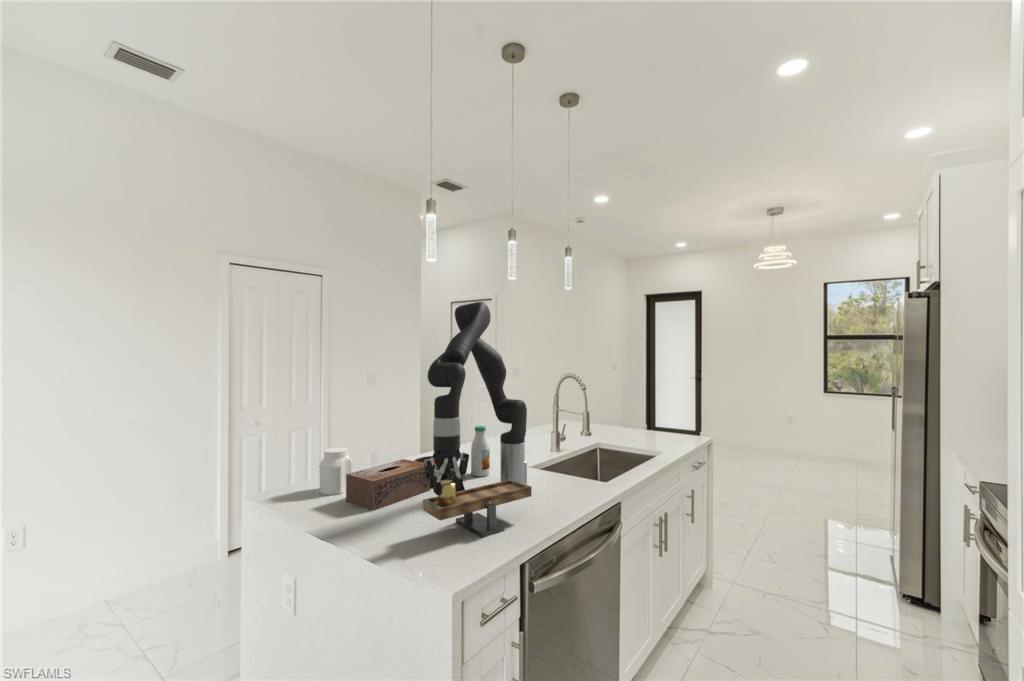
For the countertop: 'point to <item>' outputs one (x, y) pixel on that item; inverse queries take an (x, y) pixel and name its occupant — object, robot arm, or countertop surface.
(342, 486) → the jar
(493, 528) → the pivot stand
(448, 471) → the casserole
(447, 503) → the cylinder
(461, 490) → the mate gourd
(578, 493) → the countertop surface
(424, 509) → the beam
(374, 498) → the tissue box cover
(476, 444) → the milk bottle
